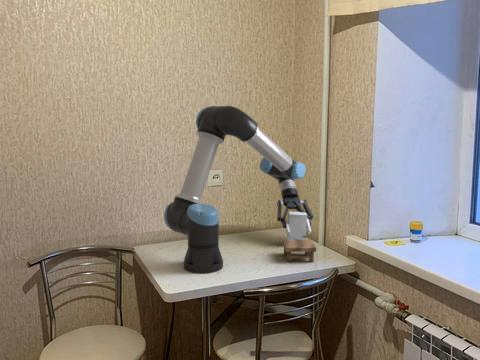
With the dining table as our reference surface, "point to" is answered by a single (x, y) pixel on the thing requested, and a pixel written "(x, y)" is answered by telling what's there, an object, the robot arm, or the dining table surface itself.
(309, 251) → the stool
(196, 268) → the robot arm
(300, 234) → the skincare box
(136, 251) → the dining table surface
